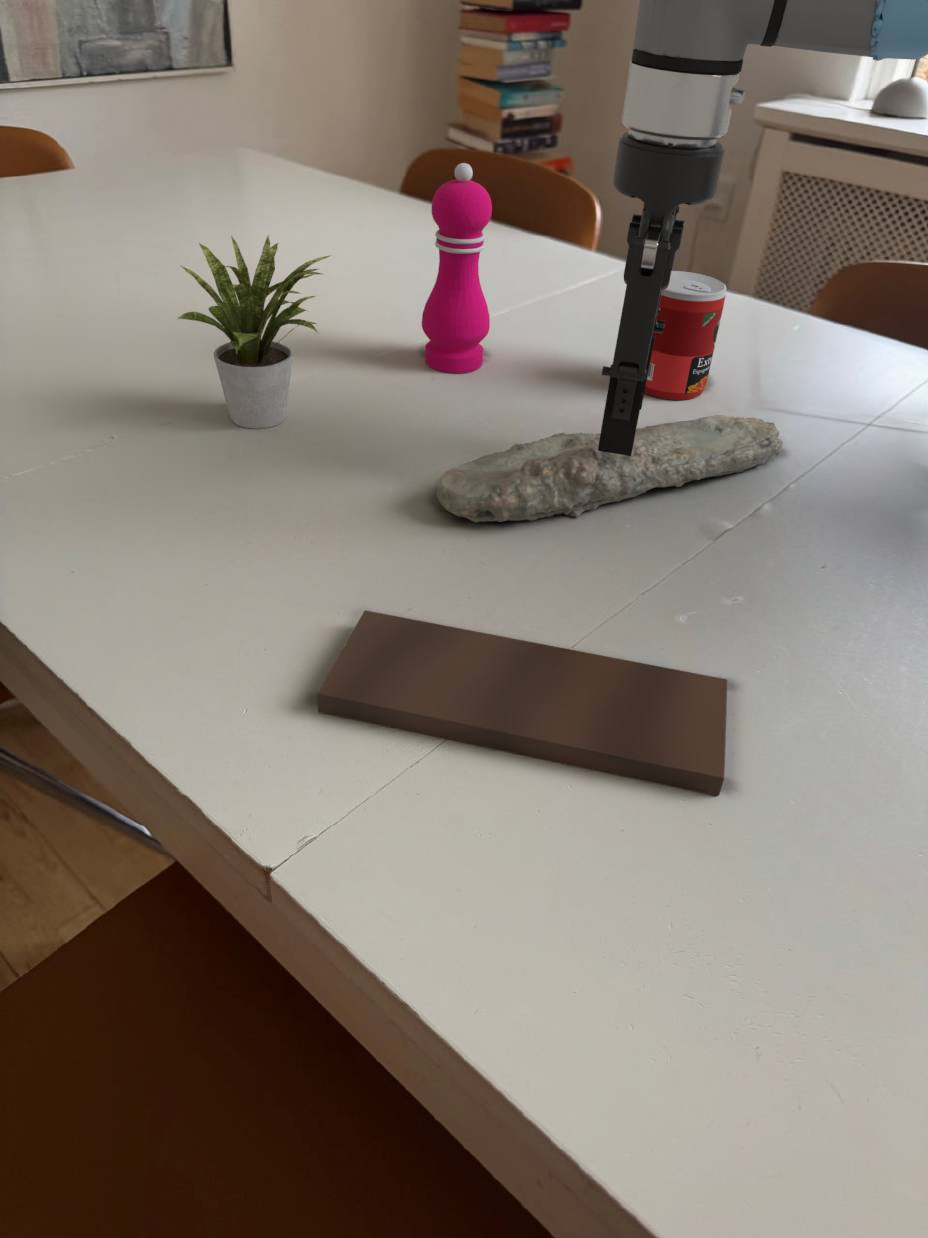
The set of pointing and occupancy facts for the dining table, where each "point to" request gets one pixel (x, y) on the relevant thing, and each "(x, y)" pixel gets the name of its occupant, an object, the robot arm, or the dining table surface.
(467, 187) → the pepper mill
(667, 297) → the canned food
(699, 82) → the robot arm
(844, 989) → the dining table surface
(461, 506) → the elongated rock
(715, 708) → the bread board
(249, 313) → the house plant
